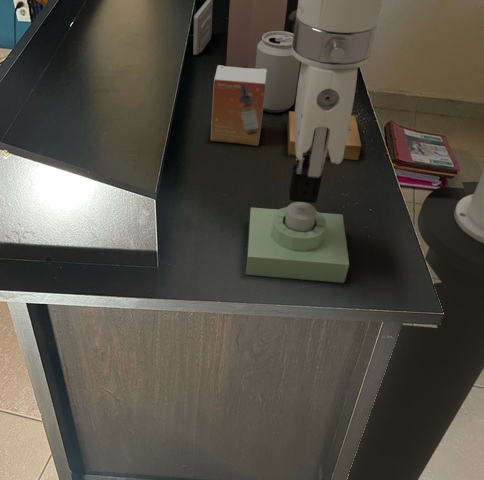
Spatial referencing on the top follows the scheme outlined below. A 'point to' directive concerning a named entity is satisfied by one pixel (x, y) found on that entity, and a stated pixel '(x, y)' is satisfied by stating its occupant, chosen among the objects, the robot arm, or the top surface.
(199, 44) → the cassette
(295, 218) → the button
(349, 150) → the panel
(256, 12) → the greeting card
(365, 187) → the top surface
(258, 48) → the can
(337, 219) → the green push button box
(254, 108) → the small box
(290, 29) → the dark ridged elongated shape
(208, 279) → the top surface
